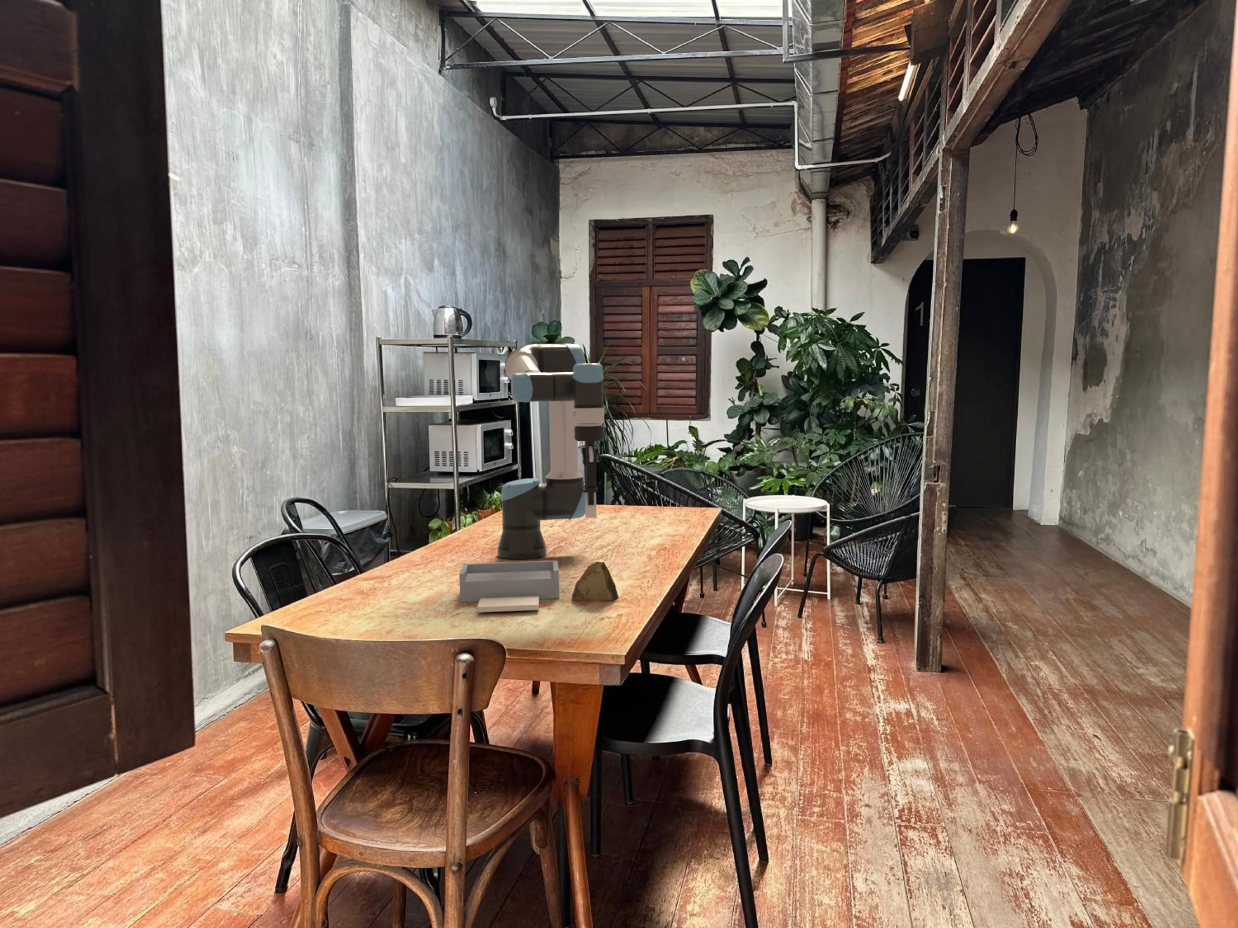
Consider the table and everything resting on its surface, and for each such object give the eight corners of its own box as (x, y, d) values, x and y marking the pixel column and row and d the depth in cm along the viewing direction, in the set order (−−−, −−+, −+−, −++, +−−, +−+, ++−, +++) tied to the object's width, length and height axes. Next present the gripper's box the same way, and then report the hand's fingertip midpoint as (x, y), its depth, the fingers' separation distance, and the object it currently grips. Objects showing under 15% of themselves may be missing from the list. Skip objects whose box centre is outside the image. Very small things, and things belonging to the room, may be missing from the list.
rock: (560, 593, 204) (594, 592, 198) (569, 561, 208) (602, 559, 202) (584, 611, 211) (617, 611, 206) (592, 580, 215) (625, 579, 210)
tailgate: (480, 598, 204) (477, 606, 193) (538, 595, 206) (538, 604, 195) (480, 603, 204) (477, 612, 193) (538, 600, 206) (538, 609, 195)
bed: (464, 590, 218) (463, 563, 217) (558, 586, 220) (557, 560, 219) (460, 602, 206) (459, 573, 205) (559, 598, 208) (558, 570, 207)
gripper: (573, 424, 220) (574, 513, 222) (575, 426, 207) (577, 521, 209) (601, 423, 221) (603, 513, 223) (606, 425, 208) (607, 520, 210)
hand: (590, 517), depth 216 cm, fingers closed
